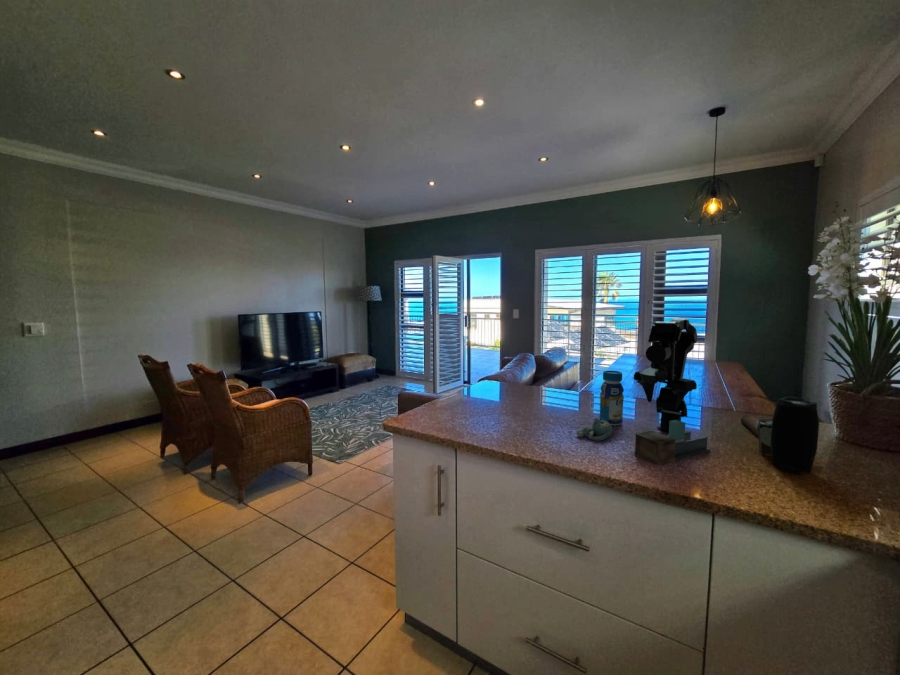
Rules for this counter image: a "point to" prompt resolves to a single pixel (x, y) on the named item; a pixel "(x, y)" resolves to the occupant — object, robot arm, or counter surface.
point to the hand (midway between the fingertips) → (661, 405)
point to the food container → (764, 435)
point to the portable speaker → (794, 434)
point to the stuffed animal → (597, 430)
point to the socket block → (655, 447)
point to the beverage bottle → (612, 398)
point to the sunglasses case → (750, 423)
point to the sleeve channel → (690, 447)
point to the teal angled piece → (677, 430)
